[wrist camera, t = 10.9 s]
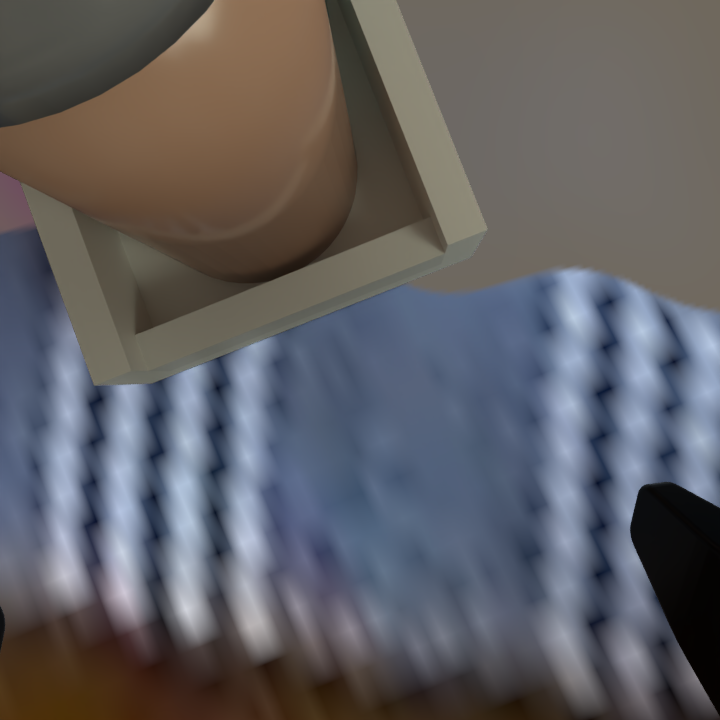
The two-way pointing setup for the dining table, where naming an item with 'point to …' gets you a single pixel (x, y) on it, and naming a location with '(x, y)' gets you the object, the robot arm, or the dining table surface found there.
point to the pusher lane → (307, 285)
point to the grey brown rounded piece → (184, 125)
